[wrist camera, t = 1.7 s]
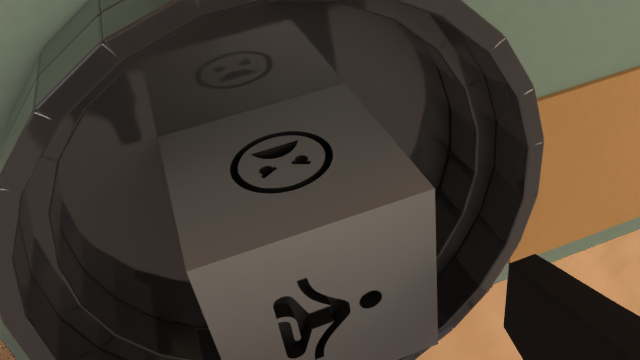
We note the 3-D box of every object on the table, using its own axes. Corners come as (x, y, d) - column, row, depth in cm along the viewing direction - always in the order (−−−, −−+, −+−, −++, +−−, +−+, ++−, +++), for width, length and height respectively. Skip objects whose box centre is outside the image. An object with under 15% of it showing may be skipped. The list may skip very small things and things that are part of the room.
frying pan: (473, 264, 22) (523, 327, 19) (117, 395, 20) (123, 486, 17) (485, -130, 14) (574, -107, 11) (-123, 14, 11) (-178, 83, 9)
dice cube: (157, 137, 14) (186, 272, 11) (345, 82, 15) (434, 188, 11) (208, 275, 17) (245, 418, 14) (362, 222, 18) (438, 343, 14)
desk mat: (681, 209, 24) (688, 214, 24) (78, 435, 20) (78, 446, 20) (848, -320, 14) (866, -323, 14) (-322, -90, 10) (-335, -85, 9)
